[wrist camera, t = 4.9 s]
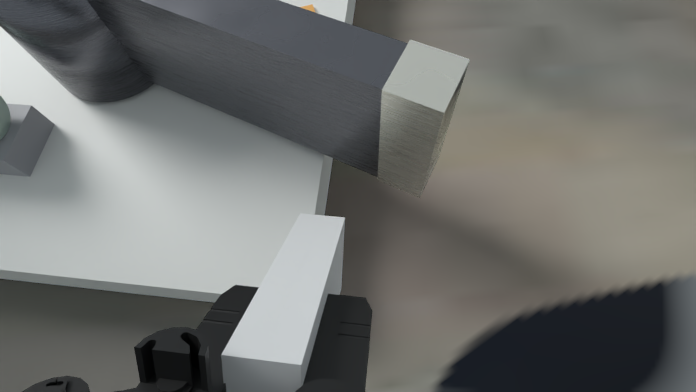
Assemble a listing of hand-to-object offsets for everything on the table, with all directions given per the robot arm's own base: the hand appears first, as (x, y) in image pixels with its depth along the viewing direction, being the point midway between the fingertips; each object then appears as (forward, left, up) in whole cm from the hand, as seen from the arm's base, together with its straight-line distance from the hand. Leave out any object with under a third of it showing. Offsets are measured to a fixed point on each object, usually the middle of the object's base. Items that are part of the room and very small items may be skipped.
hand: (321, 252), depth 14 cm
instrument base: (-13, +11, -7) cm, 18 cm away
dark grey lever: (-6, +8, -3) cm, 11 cm away
